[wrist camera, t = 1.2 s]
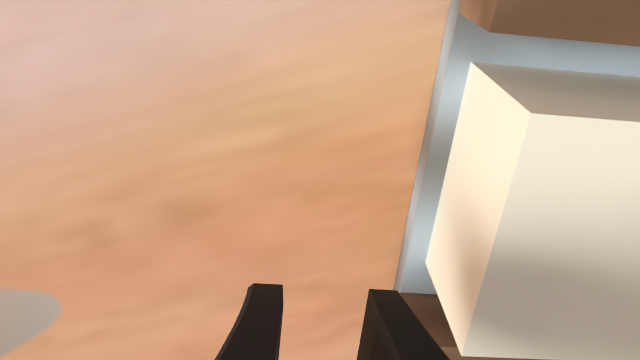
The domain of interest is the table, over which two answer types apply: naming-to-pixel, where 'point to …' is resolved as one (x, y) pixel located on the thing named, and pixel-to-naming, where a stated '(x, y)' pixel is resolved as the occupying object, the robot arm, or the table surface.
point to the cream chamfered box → (542, 216)
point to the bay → (456, 54)
